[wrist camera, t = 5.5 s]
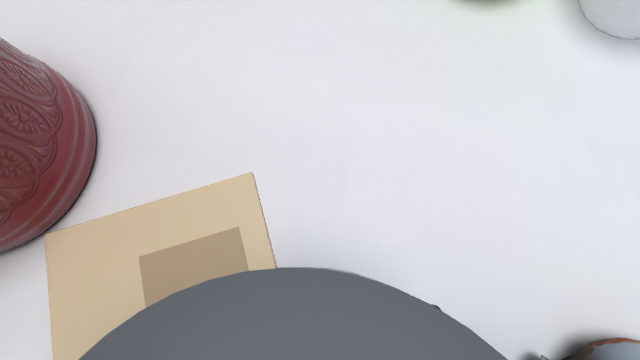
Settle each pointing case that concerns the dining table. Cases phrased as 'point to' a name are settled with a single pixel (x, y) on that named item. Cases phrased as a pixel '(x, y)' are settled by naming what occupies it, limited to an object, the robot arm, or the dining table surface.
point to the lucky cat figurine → (608, 350)
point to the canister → (39, 146)
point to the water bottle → (291, 322)
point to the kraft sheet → (149, 258)
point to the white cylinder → (614, 16)
